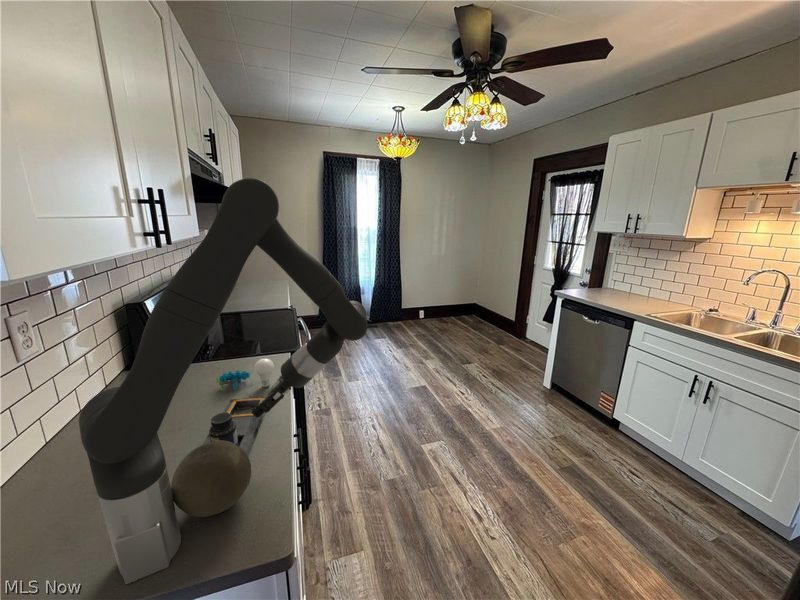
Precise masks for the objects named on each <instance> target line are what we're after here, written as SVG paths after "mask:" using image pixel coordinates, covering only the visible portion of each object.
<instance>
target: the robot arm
mask: <svg viewBox="0 0 800 600" xmlns="http://www.w3.org/2000/svg"><path fill="white" fill-rule="evenodd" d="M276 193H277V192H275V190H274V189H273V187H272V186H271V185H270V184H269V183H267V182H266V181H264V180H262V179H260V178H255V177H247V178H241V179H238V180H236V181H234V182H233V183H232V184H230V185H229V186H228V188H227V189H226V191H225V192H224V194H223V196H222V200H221V205H220V206H219V209H218V212H217V213H216V215H215V217H214V219H213V222H212V224H211V226H210V228H209V229H208V231H207V233H206V235H205V236H204V238H203V240H201V242H200V243H199V245H198V246H197V247H196V248H195V249H194V250H193V252H192V253H191V254H190V255H189V256H188V257H187V259H186V260H185V261H184V262H183V264H182V265H181V266H180V268H179V269H178V270H177V271H176V273H175V274H174V275H173V277H172V278H171V280H170V281H169V283H168V284H167V285H166V287H165V289H164V291H163V292H162V294H161V295H160V297H159V298H158V300H157V301H156V303H155V304H154V307H153V308H152V310H151V312H150V314H149V316H148V319H147V321H146V324H145V327H144V328H143V329H144V330H143V332H142V335H141V338H140V342H139V345H138V349H137V351H136V355H135V358H134V361H133V364H132V365H131V367H130V370H129V372H128V373H127V375H126V376H125V378H124V379H123V381H122V383H120V385H119V386H115V387H110V388H107V389H105V390H103V391H101V392H99V393H97V394H96V395H94V396H93V397H92V398H91V399H90V400H88V401H87V402H86V403H85V405H84V406H83V408H82V410H81V411H80V414H79V418H78V426H79V433H80V439H81V444H82V447H83V448H84V451H85V452H86V455H87V457H88V462H89V466H90V472H91V475H92V479H93V483H94V486H95V490H96V493H97V496H98V500H99V504H100V506H101V510H102V515H103V518H104V521H105V525H106V529H107V533H108V536H109V539H110V542H111V547H112V550H113V554H114V556H115V560H116V563H117V567H118V571H119V573H120V575H121V576H122V577H123V582H124V585H125V584H127V585H129V584H131V582H132V583H134V582H137V581H139V580H141V579H143V578H146V577H147V576H148V577H149V576H151V575H152V574H154V573H155V574H156V573H157V572H160V571H163V570H164V569H167V568H169V566H170V562H171V560H172V559H173V558H174V557H175V555H176V554H177V552H178V551H179V549H180V546H181V543H182V535H181V529H180V524H179V521H178V515H177V512H176V504H175V503H174V501H173V496H172V491H171V483H170V482H171V481H170V477H169V472H168V467H167V462H166V458H165V453H164V450H163V447H162V443H161V440H160V437H159V434H158V431H159V430H160V427H161V425H162V423H163V422H164V421H163V420H165V419H164V418H165V417H166V415H167V412H168V409H169V408H170V407H169V406H170V405H171V403H172V400H173V397H174V396H175V393H176V391H177V389H178V387H179V386H180V383H181V381H182V379H183V377H184V376H185V374H186V373H187V371H188V369H189V367H190V366H191V365H192V362H193V361H194V359H195V358H196V357H197V355H198V352H199V351H200V349H201V347H202V346H203V344H204V342H205V341H206V339H207V337H208V336H209V334H210V333H211V331H212V329H213V328H214V326H215V325H216V323H217V321H218V319H219V317H220V315H221V314H222V312H223V311H224V309H225V306H226V304H227V303H228V300H229V298H230V297H231V295H232V292H233V291H234V288H235V287H236V284H237V283H238V280H239V278H240V275H241V273H242V270H243V269H244V267H245V264H246V262H247V260H248V259H249V257H250V255H251V254H252V253H253V251H254V250H255V248H256V246H257V247H258V248H260V249H261V250H262V252H264V253H265V254H266V255H267V256H268V257H270V258H271V259H272V260H273V261H274V262H275V263H276V264H277V265H278V266H279V267H280V269H282V270H283V271H284V272H285V273H286V274H287V276H289V278H290V279H291V280H292V281H293V282H294V284H296V285H297V286H298V288H299V289H301V291H302V292H303V293H304V294H305V295H306V296H307V297H308V298H309V299H310V300H311V301H312V302H313V303H314V304H315V305H316V306H317V307H318V308H319V310H321V313H322V314H323V316H324V317H325V318H326V322H325V323H324V324H323V326H322V327H321V328H320V330H319V331H317V332H316V333H315V334H314V335H313V336H312V337H311V338H310V339H309V340H308V341H307V342H306V343H304V344H303V345H302V346H300V347H299V348H298V349H297V350H296V351H295V352H294V353H293V354H292V355H291V356H289V358H288V359H287V360H285V361H284V363H282V364H281V366H280V374H281V375H279V376H278V378H277V379H276V381H275V382H274V384H273V385H272V386H271V387H270V388H268V390H267V391H266V396H264V397H265V398H264V400H262V401H261V403H260V404H259V405H258V406H257V407H254V408H253V410H251V414H253V415H254V416H255V417H257V418H259V417H260V416H261V415H262V414H263V413H264V412H266V414H268V413H269V412H270V411H271V410H272V409H273V408H274V406H276V405H277V404H278V403H279V402H280V401H281V400H282V399H284V397H285V395H286V394H289V392H290V391H291V390H292V388H296V389H300V388H303V387H305V386H306V385H307V384H308V383H309V382H311V380H313V379H314V378H315V377H316V376H317V375H318V374H319V373H320V372H321V371H322V370H323V369H324V368H325V366H326V365H327V364H328V363H330V361H332V359H334V358H335V357H336V356H338V354H339V353H340V351H341V350H342V347H343V345H344V343H345V340H347V341H351V342H352V341H358V340H361V339H362V338H364V336H365V335H366V334H367V330H368V317H367V310H366V309H365V307H364V305H363V304H362V303H361V302H359V301H357V300H349V298H348V297H347V295H346V292H345V290H344V287H343V286H342V285H341V283H340V281H338V280H337V279H336V278H335V276H334V275H333V274H332V273H331V272H330V271H329V269H328V268H327V267H326V266H325V265H324V264H323V263H322V262H321V261H319V259H317V257H315V256H314V255H313V254H311V252H309V251H308V250H306V249H305V248H303V246H301V245H300V244H299V243H298V242H297V241H296V240H295V239H294V238H293V237H292V236H291V235H290V234H289V233H288V232H287V230H286V229H285V228H284V227H283V225H282V224H281V223H280V221H279V219H278V216H279V211H280V209H279V208H280V204H279V199H278V195H277V194H276ZM138 579H139V580H138ZM128 583H129V584H128Z"/></svg>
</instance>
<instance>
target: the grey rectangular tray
mask: <svg viewBox="0 0 800 600" xmlns="http://www.w3.org/2000/svg"><path fill="white" fill-rule="evenodd" d="M265 397H266V396H260V397H248V398H246V397H245V398H233V399H232V398H231V399H230V400H229V402H228V403H227V405H226V406H225V408H224V410H223V411H222V413H225V412H226V413H230V414H231V416H232V421H234V422H235V424H236V431H237V439H238V444H239V445H238V447H240V448H242V449H243V450H244V451H245V452H246V454H247V456H248V457H249V455H250V453H251V450H252V447H253V445H254V443H255V441H256V439H257V435H258V433H259V431H260V429H259V428H261V426H262V423H263V421H264V419H265V415H266V414H267V413H266V412H264V413H263V414H262V415H261V416H260V417H259V418H257V417H255V416H254V415H253V414H252V413H245V414H243V413H242V414H236V411H237V410H238V409H248V408H250V409H251V408H256V407H257V406H258V405H259V404H260V403H261V401H262V400H264V398H265ZM263 418H264V419H263ZM206 443H210V435H209V434H208V435H207V437H206V438H205V440H204V441H203V442H202V444H201V445H203V444H206Z"/></svg>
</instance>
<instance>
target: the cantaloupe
mask: <svg viewBox="0 0 800 600" xmlns="http://www.w3.org/2000/svg"><path fill="white" fill-rule="evenodd" d="M202 444H203V443H202ZM202 444H201V445H199V446H197V447H196V448H194V449H193V450H191V451H190V452H189V453H188V454H187V455H186V456H185V457H184V458H183V459H182V460H181V461H180V463H179V464H178V466H177V468H176V469H175V471H174V473H173V476H172V478H171V483H170V486H171V491H172V496H173V501H174V505H175V506H177V508H178V509H179V510H180V511H182V512H184V513H185V514H186V515H187V516H191V517H194V518H205V517H206V518H207V517H211V516H215V515H218V514H220V513H222V512H224V511H227V510H228V509H229V508H231V507H232V506H233V505H235V504H236V503H237V502H238V501H239V500H240V498H242V496H243V495H244V493H245V492H246V491H247V488H248V486H249V484H250V481H251V478H252V465H251V462H250V458H249V455H248V456H247V454H246V452H245V451H244V450H243V449H242V448H240V447H239V445H238V446H236V445H235V444H233V443H232V442H229V441H224V440H218V441H214V442H210V443H206V444H203V445H202Z"/></svg>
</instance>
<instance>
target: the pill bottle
mask: <svg viewBox="0 0 800 600" xmlns="http://www.w3.org/2000/svg"><path fill="white" fill-rule="evenodd" d="M210 425H211V427H210V428H209V430H208V431H209V432H208V433H209V434H208V435H210V442H214V441H218V440H224V441H229V442H232V443H233V444H235V445H236V446H238V447H239V443H238V439H237V431H236V424H235V422H234V421H232V416H231V414H230V413H226V412H225V413H223V412H220V413H218V414H215V415H214V416H212V417H211V419H210Z"/></svg>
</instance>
